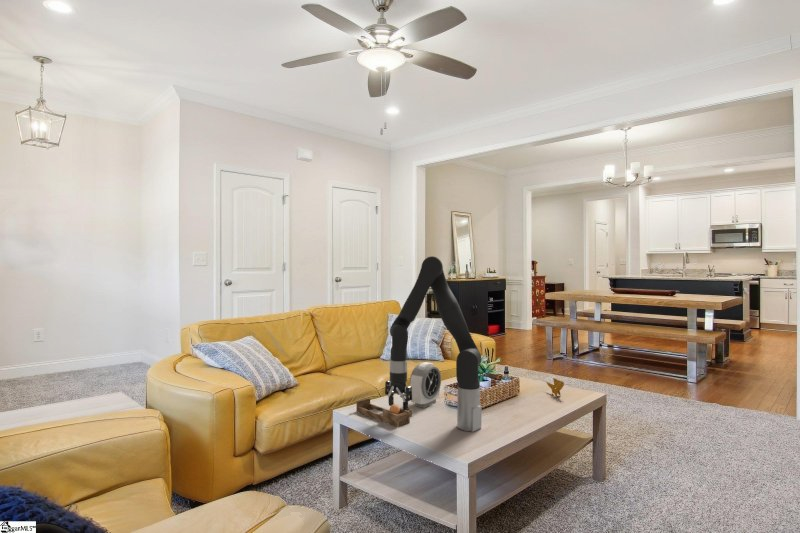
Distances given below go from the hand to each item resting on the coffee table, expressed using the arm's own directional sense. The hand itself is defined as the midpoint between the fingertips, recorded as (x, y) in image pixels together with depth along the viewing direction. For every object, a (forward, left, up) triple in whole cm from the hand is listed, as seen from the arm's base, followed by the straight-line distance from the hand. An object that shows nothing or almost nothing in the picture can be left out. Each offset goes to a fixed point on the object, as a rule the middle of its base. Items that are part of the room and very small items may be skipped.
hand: (398, 407), depth 192 cm
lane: (+10, 0, -7) cm, 12 cm away
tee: (+4, -9, -7) cm, 12 cm away
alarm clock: (+9, -28, -7) cm, 30 cm away
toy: (-28, -89, -7) cm, 94 cm away
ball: (+2, 0, -1) cm, 3 cm away
